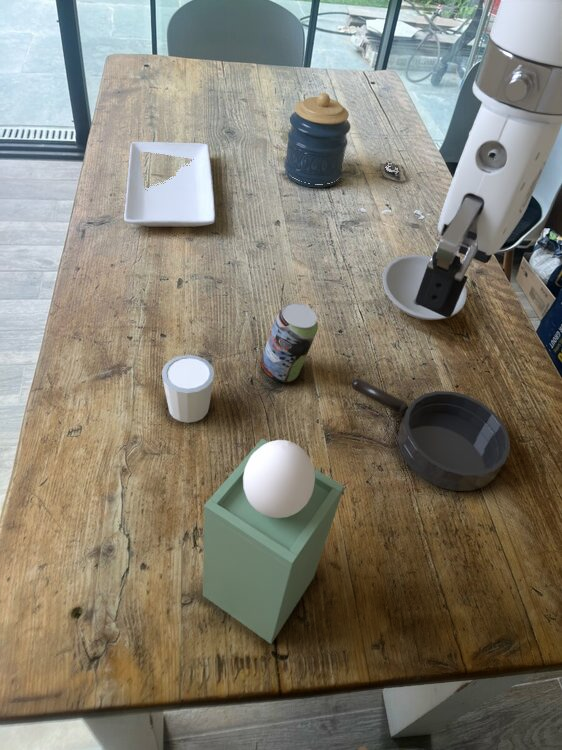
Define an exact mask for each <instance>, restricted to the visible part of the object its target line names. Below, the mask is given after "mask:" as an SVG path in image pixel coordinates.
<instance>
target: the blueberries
mask: <svg viewBox="0 0 562 750" xmlns="http://www.w3.org/2000/svg"><path fill="white" fill-rule="evenodd" d="M388 163H392V166H391V164H389V166H391V167H389V169H391V170H395V167H396V168H398V171H399V172H398V173H397V174H395V173H396V172H389V171H387V170H386V168H385V167H386V166H387V165H388ZM387 167H388V166H387ZM379 169H380V171H381V172H380V173H381V174H382V176H383V178H386V179H387V180H393V181H395V182H398V183H403V182H405V181H407V178H406V175H404V174H405V172H404V171H405V169H404V166H402V165H400V164H397V163H396V164H395V163H394V162H392V161H389V162H387V161H386V162H385V163H381V162H380V163H379ZM395 171H397V170H395Z"/></svg>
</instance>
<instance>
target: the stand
mask: <svg viewBox="0 0 562 750" xmlns="http://www.w3.org/2000/svg"><path fill="white" fill-rule="evenodd" d="M268 442H269V441H268V440H266V439H264V438H263V437H262V438H261V439H260V440H259V441H258V442H257V444H256V445H255V446H254V447H253V448H252V449H251V451H250V452H249V453H248V454H247V455H246V457H244V459H243V460H242V461H241V462H240V463H239V465H238V466H237V467H236V468H235V469H234V470H233V471H232V473H231V474H230V475H229V476H227V479H225V481H224V482H223V483H222V484H221V485H220V486H219V487H218V489H217V490H216V491H215V492H214V494H212V495H211V497H210V498H209V499H208V500H207V501H206V503H204V505H203V557H202V559H203V561H202V562H203V563H202V565H203V566H202V596H203V597H204V598H205V599H207V600H208V601H210V602H211V603H212V604H214V605H215V606H217V607H218V608H219V609H221V610H222V611H223V612H225V613H226V614H227V615H229V616H231V617H232V618H233V619H234V620H237V621H238V622H239V623H241V624H242V625H243V626H245V627H246V628H248V630H250V631H252V632H253V633H254V634H256V635H258V636H259V637H260V638H262V639H263V640H265V642H267V643H268V644H271V645H272V644H273V643H274V641H275V639H276V638H277V636H278V634H279V633H280V631H281V630H282V629H283V627H284V625H285V624H286V622H287V621H288V619H289V617H290V616H291V614H292V613H293V611H294V610H295V607H297V605H298V603H299V602H300V600H301V598H302V597H303V595H304V594H305V592H306V590H307V589H308V587H309V585H310V584H311V582H312V581H313V579H314V578H315V575H316V573H317V570H318V566H319V564H320V560H321V557H322V554H323V552H324V548H325V545H326V544H327V543H326V542H327V539H328V537H329V534H330V531H331V527H332V525H333V521H334V519H335V515H336V513H337V510H338V507H339V504H340V501H341V498H342V495H343V493H344V489H345V486H344V485H343V484H342V483H339V482H338V481H336V480H334V479H332V478H331V477H329V476H328V475H326V474H324V473H322V472H321V471H319V470H317V469H315V468H314V475H315V483H314V488H313V492H312V495H311V497H310V499H309V501H308V503H307V504H306V505H305V506H304V507H303V508H302V509H301V510H300V511H299V512H297V513H296V514H294V515H291V516H289V517H284V518H273V517H268V516H265V515H263V514H261V513H260V512H258V511H257V510H256V509H255V508H254V507H253V506H252V505H251V504H250V502H249V501H248V499H247V497H246V494H245V491H244V486H243V475H244V470H245V467H246V465H247V463H248V461H249V459H250V457H251V455H252V454H253V453H254V452H255V451H256V450H257V449H259V448H260V447H261V446H262V445H264V444H266V443H268Z"/></svg>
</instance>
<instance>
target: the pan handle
mask: <svg viewBox="0 0 562 750" xmlns="http://www.w3.org/2000/svg"><path fill="white" fill-rule="evenodd" d="M351 388H352V390H354V391H356V392H358V393H360V394H361V395H363V396H365V397H367V398H369V399H370V400H373V401H375V402H377V403H378V404H381V405H383V406H384V407H385V408H388V409H390V410H392V411H394V412H395V413H398V414H400V415H405V412H406V410H407V409H408V407H409V404H408V403H407V402H406V401H404V400H402V399H400V398H399V397H397V396H394V395H393V394H391V393H388V392H387V391H385V390H383V389H381V388H379V387H377V386H375V385H373V384H372V383H369V382H367V381H366V380H364V379H361V378H360V377H359V378H354V379H353V380H352V381H351Z"/></svg>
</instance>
